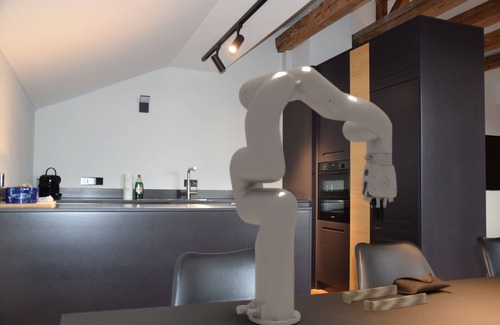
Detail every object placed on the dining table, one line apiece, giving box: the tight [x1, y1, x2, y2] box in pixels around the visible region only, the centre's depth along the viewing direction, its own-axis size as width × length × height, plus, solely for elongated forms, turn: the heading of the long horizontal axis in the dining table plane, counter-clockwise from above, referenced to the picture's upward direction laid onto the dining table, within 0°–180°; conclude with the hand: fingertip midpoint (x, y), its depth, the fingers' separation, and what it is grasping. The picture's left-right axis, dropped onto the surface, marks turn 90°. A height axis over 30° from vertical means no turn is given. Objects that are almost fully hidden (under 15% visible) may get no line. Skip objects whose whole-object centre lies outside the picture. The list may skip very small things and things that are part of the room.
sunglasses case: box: [392, 273, 452, 295], centre depth 134 cm, size 18×7×7 cm
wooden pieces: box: [341, 284, 427, 313], centre depth 121 cm, size 20×12×2 cm, turn 117°
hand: (378, 220), depth 129 cm, fingers closed
